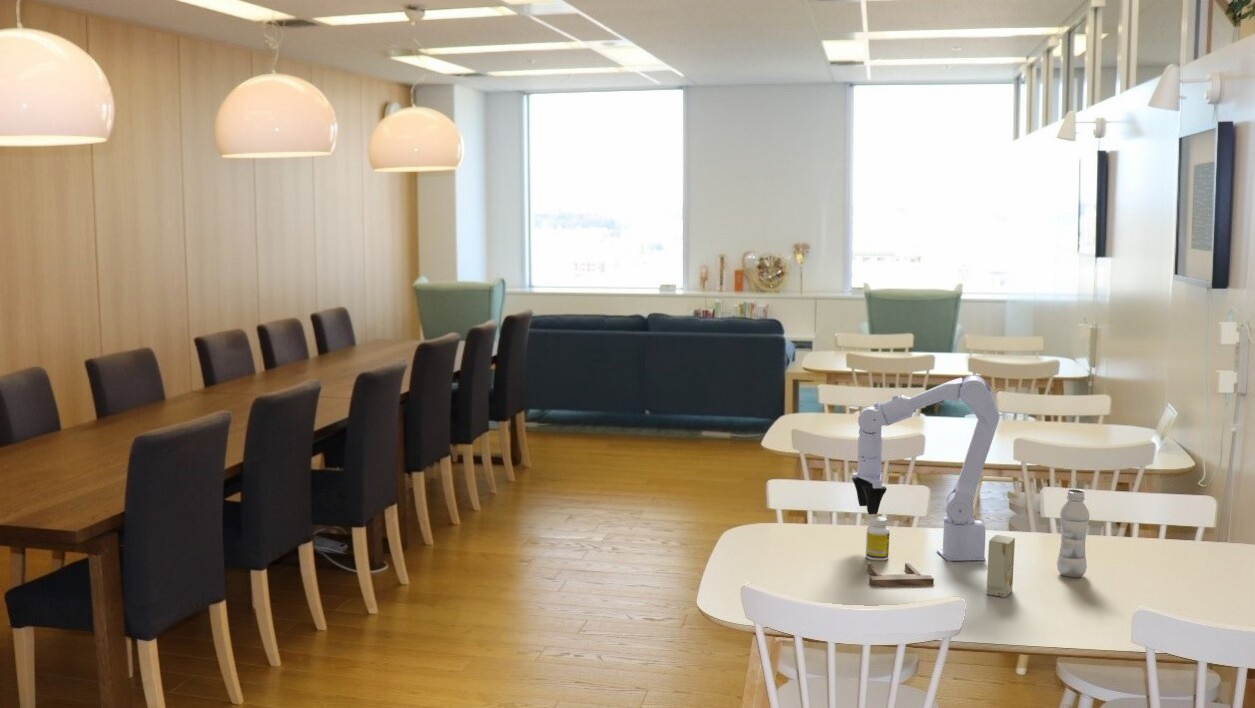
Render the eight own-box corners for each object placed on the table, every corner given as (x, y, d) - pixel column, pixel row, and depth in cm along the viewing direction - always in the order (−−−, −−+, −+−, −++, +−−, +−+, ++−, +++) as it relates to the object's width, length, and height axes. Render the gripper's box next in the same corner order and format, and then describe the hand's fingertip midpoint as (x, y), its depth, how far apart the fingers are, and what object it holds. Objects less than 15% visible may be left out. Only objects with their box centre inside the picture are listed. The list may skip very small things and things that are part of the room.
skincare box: (1005, 598, 254) (1008, 543, 253) (985, 594, 257) (988, 540, 255) (1013, 590, 260) (1015, 536, 258) (993, 586, 262) (996, 533, 260)
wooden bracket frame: (917, 569, 274) (917, 562, 274) (933, 585, 263) (933, 578, 263) (858, 570, 273) (858, 563, 273) (872, 586, 262) (872, 579, 262)
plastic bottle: (1087, 573, 271) (1092, 489, 269) (1085, 582, 265) (1090, 496, 263) (1057, 569, 274) (1062, 486, 271) (1055, 578, 268) (1059, 493, 265)
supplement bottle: (890, 561, 280) (892, 521, 278) (867, 561, 280) (869, 521, 278) (886, 554, 285) (887, 515, 284) (863, 554, 285) (865, 515, 284)
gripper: (845, 449, 294) (844, 502, 295) (862, 462, 279) (860, 518, 281) (873, 449, 294) (871, 502, 296) (890, 462, 280) (889, 517, 282)
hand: (868, 509), depth 288 cm, fingers open, 7 cm apart
